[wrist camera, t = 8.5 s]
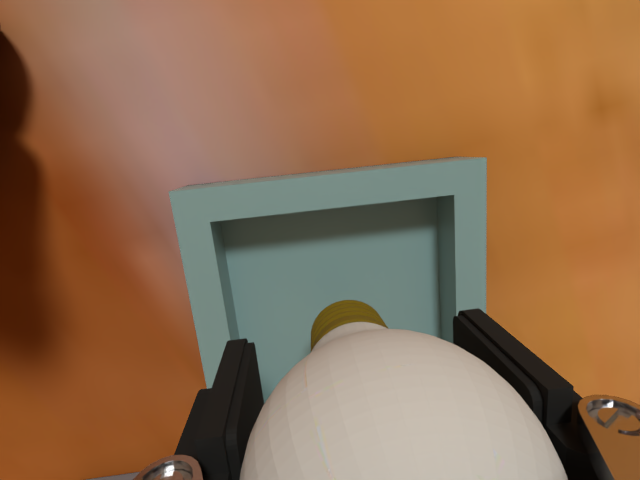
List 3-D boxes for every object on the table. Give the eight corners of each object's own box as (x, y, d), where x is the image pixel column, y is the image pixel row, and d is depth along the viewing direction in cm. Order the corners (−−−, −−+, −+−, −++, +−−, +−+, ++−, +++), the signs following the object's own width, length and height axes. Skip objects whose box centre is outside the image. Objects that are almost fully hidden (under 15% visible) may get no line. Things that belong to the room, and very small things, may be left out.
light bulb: (324, 419, 15) (384, 921, 5) (231, 308, 14) (81, 705, 4) (449, 338, 14) (771, 717, 5) (367, 215, 13) (583, 395, 3)
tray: (456, 156, 16) (486, 157, 13) (460, 389, 18) (485, 425, 16) (188, 185, 15) (168, 191, 13) (231, 420, 18) (221, 462, 15)
